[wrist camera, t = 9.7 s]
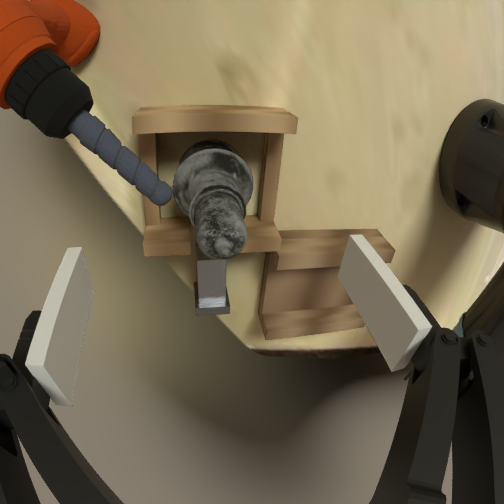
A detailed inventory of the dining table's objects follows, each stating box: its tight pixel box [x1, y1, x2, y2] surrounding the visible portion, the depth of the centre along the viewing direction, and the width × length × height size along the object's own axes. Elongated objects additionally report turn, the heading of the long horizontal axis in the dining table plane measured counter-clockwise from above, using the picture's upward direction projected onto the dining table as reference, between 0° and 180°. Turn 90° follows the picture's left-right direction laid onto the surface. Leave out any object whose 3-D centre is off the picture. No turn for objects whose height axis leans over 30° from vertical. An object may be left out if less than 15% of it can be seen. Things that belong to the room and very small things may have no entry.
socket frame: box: [132, 105, 298, 257], centre depth 24 cm, size 11×11×4 cm
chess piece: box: [173, 140, 253, 260], centre depth 20 cm, size 6×6×12 cm
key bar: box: [194, 241, 230, 315], centre depth 29 cm, size 3×6×4 cm, turn 176°
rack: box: [258, 229, 395, 340], centre depth 32 cm, size 12×11×4 cm
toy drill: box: [0, 0, 173, 206], centre depth 12 cm, size 5×19×15 cm, turn 42°
